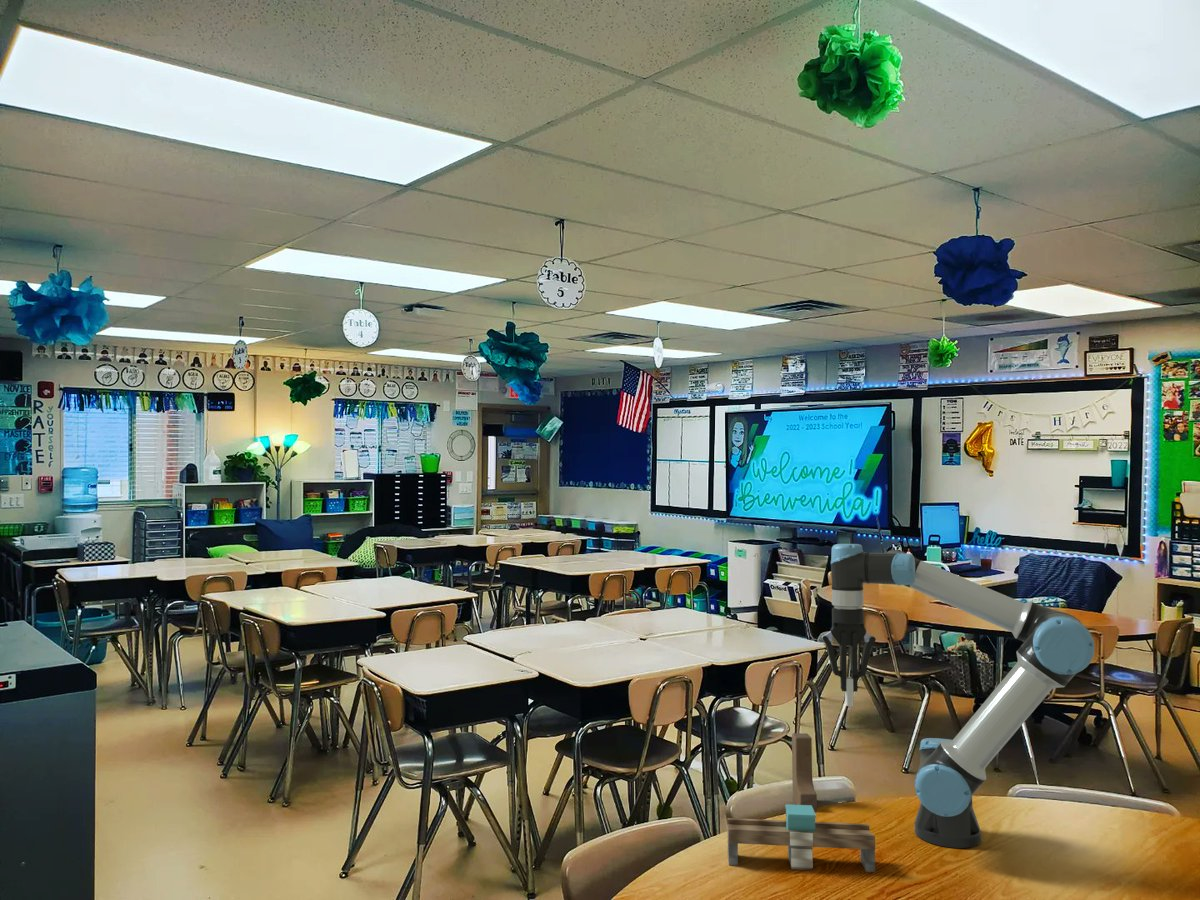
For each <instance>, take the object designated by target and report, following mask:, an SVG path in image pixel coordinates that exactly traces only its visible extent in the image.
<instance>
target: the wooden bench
mask: <svg viewBox="0 0 1200 900" xmlns="http://www.w3.org/2000/svg"><path fill="white" fill-rule="evenodd" d="M726 823H727V859H728V865H729V866H736V867H737V866H739V856H738V855H739V850H738V849H739V844H740V845H741V844H743V845H760V846H761V845H764V846H785V847H787V856H788V857H787V858H788V861H789V864H790V869H791V870H804V871H805V870H806V871H812V869H814V867H813V865H814V863H813V861H814V860H813V859H814V858H813V857H814V855H813V848H827V849H829V848H830V849H831V848H833V849H848V850H849V849H850V850H851V849H853V850H860V851H859V852H860V862H861V864H862V867H863V869H864V871H865V872H867V873H868V872H869V873H876V835H875V833H872V832H871V830H870V824H869V823H853V822H830V821H829V822H827V821H815V831H793V830H787V828H786V819H785V820H784V819H783V820H782V819H760V818H759V819H756V818H739V817H737V818H736V817H735V818H734V817H732V818H731V817H727V822H726Z"/></svg>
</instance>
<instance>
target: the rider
mask: <svg viewBox="0 0 1200 900" xmlns="http://www.w3.org/2000/svg"><path fill="white" fill-rule="evenodd" d="M784 805H785V820H786V828H787V830H793V831H815V822H816V819H817V815H816V813H815V812H816V811H814V810H813V807H812V805H796V804H787V803H786V804H784Z"/></svg>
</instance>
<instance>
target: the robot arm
mask: <svg viewBox="0 0 1200 900" xmlns="http://www.w3.org/2000/svg"><path fill="white" fill-rule="evenodd" d="M830 557H831V559H830V575H831V578H830V579H831V605H832V606H833V607H832V608H831V626H830V628H829V632H827V633H825V634H822V635H820V638H821V640H822V641H823V643H824V644H825V648H826V651H827V655H828V659H829V663H830V667H831V670H832V673H833V674H834V675H835V676H837V677H840V690H841V692H844V700H845V701H844V702H845V703H844V704H845V705H846V706H847V707H854V692H858V684H859V683H858V682H859V681H858V679H859V678H860V677H864V676H866V672H867V668H868V664H869V659H870V656H871V655H870V654H871V650H872V646H874V644H875V642H876V640H877V639H876V637H874V635H871V634H870V633H868V632H867V629H866V627H865V611H864V609H863V606H864V601H865V600H864V584H879V585H892V586H893V585H896V586H904V587H907V588H910V589H912V590H914V591H917V592H919V593H920V594H923V595H925V596H927V597H931V598H932V599H935V600H937V601H940V602H942V603H945V604H946V605H949V606H951V607H953V608H956V609H958V610H960V611H963V612H965V613H967V614H970V615H972V616H974V617H976V618H979V619H981V620H983V621H986V622H988V623H990V624H992V625H995V626H996V627H999V628H1001V629H1004V630H1007V631H1009V632H1011V633H1012V635H1013V637H1014V638H1015V639H1016V640H1019V641H1021V642H1023V643H1022V644H1021V645H1020V646H1019V648H1018V649H1017V650H1016V658H1017V662H1016V663H1015V664H1014V666H1013V667H1012V668H1011V670H1010V671H1008V673H1007V674H1006V675H1005V676H1004V677H1003V679H1002V680H1001V681H1000V683H999V684H998V685H997V686H996V687H995V688H994V689H993V691H992V692H991V693H990V695H989V696H988V697H986V699H985V700H984V702H983V703H982V704H981V705H980V707H979V708H978V709H977V710H976V712H975V713H974V714H973V715H971V717H970V718H969V720H968V721H967V723H965V724H964V726H963V727H962V728H961V729H960V731H959V732H958V733H957V734H956V735H955V737H954V738H953V739H948V738H939V737H934V738H933V737H928V738H927V737H926V738H923V739H921V741H920V742H919V743H920V745H919V751H920V758H919V759H920V763H919V766H918V770H917V772H916V775H915V778H914V788H915V792H916V796H917V798H918V801H920V804H919V807H918V811H917V814H916V817H915V819H914V834H915V836H916V837H918V838H919V839H921V840H923V841H925V842H927V843H930V844H932V845H937V846H940V847H945V848H946V847H947V848H953V849H954V848H956V849H966V848H973V847H977V846H979V845H980V844H981V843H982V831H981V830H982V829H981V828H980V825H979V822H978V821H979V820H978V818H977V816H976V813H975V811H974V808H973V795H974V794H975V793H976V791H977V790H978V789H979V788H980V787H981V786H982V785H983V783H984V782H985V781H986V780H987V773H986V768H987V767H988V765H989V764H990V763H991V762H992V760H993V759H994V758H995V757H996V756H997V755H998V754H999V752H1000V751H1002V749H1003V747H1004V746H1006V744H1007V743H1008V742H1009V741H1010V740H1011V738H1012V737H1013V736H1014V735H1015V734H1016V732H1017V731H1018V730H1019V729H1020V727H1022V725H1024V723H1025V721H1027V720H1028V718H1029V717H1030V716H1031V715H1032V713H1034V711H1035V710H1036V709H1037V708H1038V706H1040V704H1041V703H1042V702H1043V700H1044V699H1045V698H1046V697H1047V696H1048V695H1049V693H1050V692H1051V691H1052V690H1053V689H1057V688H1065V687H1066V686H1067V684H1068V683H1069V682H1070V681H1071V680H1072V679H1073V678H1074V677H1075V676H1076V674H1078V673H1080V672H1082V671H1084V669H1086V668H1088V666H1089V665H1090V663H1091V662H1092V661H1093V658H1094V655H1095V642H1094V637H1093V635H1092V633H1091V631H1089V629H1088V627H1087V626H1085V625H1084V624H1083V623H1082V622H1081V621H1080V620H1079V619H1078V618H1077V617H1076V616H1074V615H1071V614H1070V613H1067V612H1064V611H1060V610H1057V609H1053V608H1049V607H1047V606H1044V605H1041V604H1038V603H1035V602H1034V601H1032V600H1031V601H1028V602H1023V601H1021V600H1020V601H1019V600H1017V599H1016V598H1013V597H1010V596H1007V595H1005V594H1003V593H1001V592H998V591H997V590H996V591H995V590H993V589H992V588H988V587H986V586H983V585H981V584H979V583H976V582H975V581H971V580H969V579H967V578H964V577H962V576H960V575H957V574H955V573H952V572H950V571H948V570H945V569H943V568H940V567H938V566H936V565H934V564H931V563H929V562H925V561H923V560H920V559H918V558H916V557H915V556H914V555H913V554H912V553H906V552H905V551H902V550H899V549H891V550H889V551H886V552H867V551H865V552H864V550H863V546H862V544H859V543H837V544H833V545H832V547H831V556H830ZM832 637H833V638H834V639H835V641H836V642H837V643H838V645H839V646H838V647H839V666H838V662H837V659H836V655H835V652H834V647H833V644H832V641H833V638H832ZM863 638H864V639H863ZM862 640H863V641H864V645H863V648H862V649H863V650H862V653H861V658H860V662H859V664H858V650H859V649H858V645H860V642H861V641H862ZM847 646H849V649H850V651H849V653H850V654H849V655H850V675H851V676H848V670H847V669H848V668H847V667H848V663H847V656H848V655H847V653H848V652H847V650H848V647H847ZM858 665H859V667H858Z"/></svg>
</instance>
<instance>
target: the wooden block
mask: <svg viewBox="0 0 1200 900" xmlns="http://www.w3.org/2000/svg"><path fill="white" fill-rule="evenodd" d="M812 740H813V738H812V737H811V735H809V734H808V733H807V732H806V733H805V732H804V733H803V732H802V733H795V732H794V733H792V734H791V752H792V753H791V755H792V756H791V760H792V761H791V764H792V765H791V766H792V767H791V768H792V769H791V771H792V774H791V775H792V778H791V779H792V783H791V784H792V800H793V802H794V803H795V805H812V807H813V810H815V811H814V812H817V811H818V805H817V804H818V800H817V799H818V798H817V797H818V795H817V793H816V790H815V787H814V782H813V781H814V780H813V749H812V748H813V746H812V743H813V742H812Z"/></svg>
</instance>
